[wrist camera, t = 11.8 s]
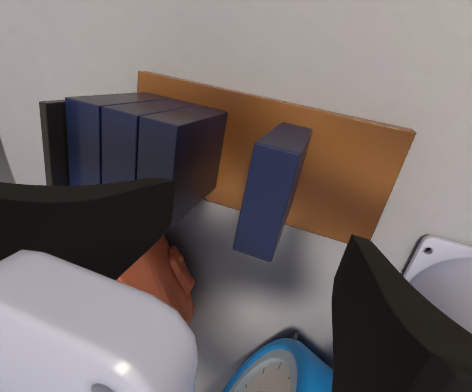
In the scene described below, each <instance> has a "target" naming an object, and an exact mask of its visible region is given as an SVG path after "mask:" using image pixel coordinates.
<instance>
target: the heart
mask: <svg viewBox="0 0 472 392" xmlns="http://www.w3.org/2000/svg"><path fill="white" fill-rule="evenodd" d="M116 281H118V282H121V283H124V284H126V285H129V286H131V287H134V288H136V289H139V290H141V291H144V292H146V293H149V294H151V295H154V296H155V297H157V298H159V299H160V300H162V301H163V302H165V303H166V304H168V305H169V306H171V307H173V308H174V309H176V310H177V311H178V312H179V314H180V315H181V317H182V318H183V319H184V321H185V322H186V323H187V325H188V324H189V322H190V320H191V318H192V317H193V314H194V304H193V301H192V296H191V293H190V292H191V290H192V289H193V286H194V285H195V280H194V279H193V278H192V277H191V275H190V273H189V271H188V269H187V267H186V264H185V262H184V257H183V255H182V254H180V252H179V250H178V249H177V248H176V247H175V246H169V245H168V241H167V239H166V238H165V236H164V235H163V236H162V237H161V238H160V239H159V240H158V241H157V242H156V243H155V244H154V245H153V246H152V247H151V248H150V249H149V250H148V251H147V252H146V253H145V254H144V255H143V256H141V257H140V258H139V259H138V260H137V261H136V262H135V263H134V264H133V265H132V266H131V267H130V268H128V269H127V270H126V271H125V272H124V273H123V274H122V275H121V276H120V277H119V278H118V279H117V280H116Z"/></svg>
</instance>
